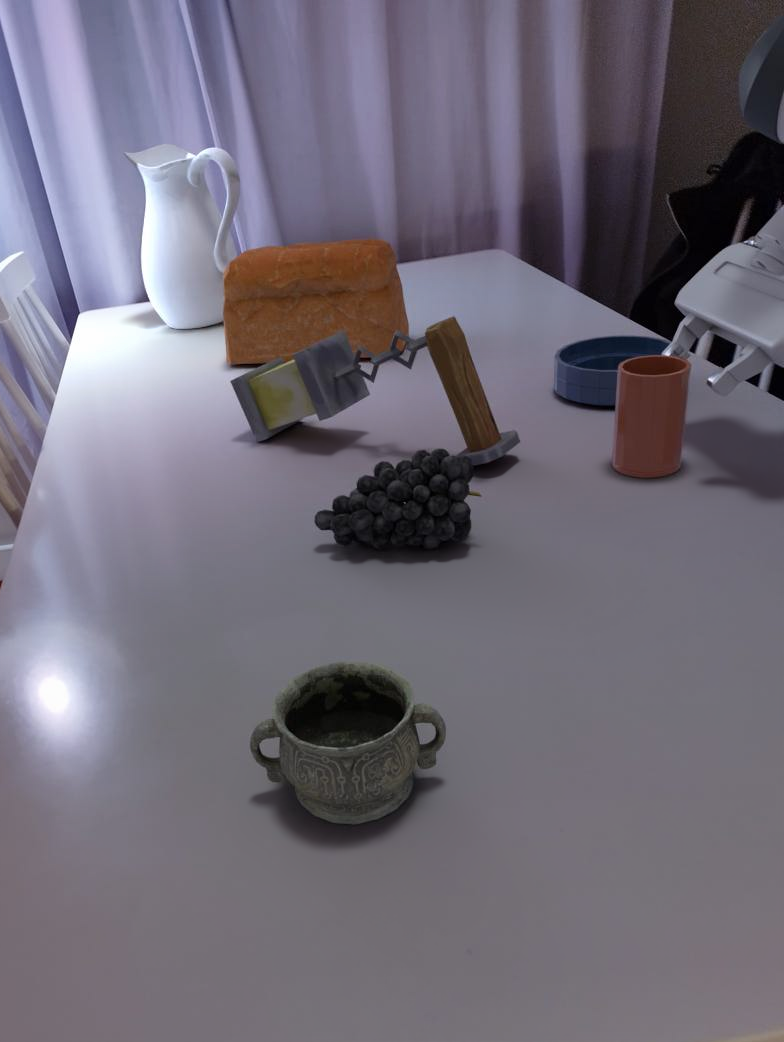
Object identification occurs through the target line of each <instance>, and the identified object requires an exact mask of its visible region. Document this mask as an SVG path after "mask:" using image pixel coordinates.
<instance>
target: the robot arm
mask: <svg viewBox="0 0 784 1042" xmlns="http://www.w3.org/2000/svg"><path fill="white" fill-rule="evenodd" d="M746 55H747V56H746V57H745V59H744V60H743V63H742V64H741V67H740V70H739V74H738V95H739V96H738V98H739V105H740V111H741V115H742V120H743V123H744V125H745V126H746V127H749V128H750V129H752V130H754V131H756V132H758V133H760V134H762V135H763V136H765V137H766V138H769V139H771V140H772V141H774V142H777V143H778V144H780V145H784V10H783V11H782V12H780V14H779V15H778V16H777V17H776V18H775V19H774V20H773V22H772V23H771V24H770V25H769V26H768V27H767V28H766V30H764V32H763V33H762V34H761V35H760V37H759V38H758V39H757V41H755V43H754V45H753V46H752V47H751V49H750V51H749V52H748V54H746ZM674 306H675V307H676V308H677V309H678V311H680V312H681V314H682V315H684V316H685V317H684V318H683V319H682V321H680V322H679V325H678V327H677V330H676V332H675V334H674V336H673V338H672V341H670V342H671V343H670V345H669V346H668V347H667V348H666V349H665V350H664V351H663V352H662V355H667V356H674V357H680V358H682V359H685V360H688V359H689V358H690V357H691V354H690V353H689V352H690V350H691V348H692V346H693V345H694V343H695V341H696V340H697V339H698V340H700V339H702V337H703V336H704V335H705V334H707V332H711V333H712V334H715V335H716V336H719V337H721V338H722V339H724V340H726V341H728V342H731V343H732V344H735V345H736V346H739V347H741V348H742V351H741V352H740V355H741V356H740V357H738V358H737V359H735V360H734V361H732V362H731V363H729V364H728V365H727V366H725V367H724V368H723V367H721V366H718V367H717V369H715V371H714V372H713V374H711V375H710V376H709V377H708V378H707V380H706V385H707V386H708V388H710V390H712V391H713V392H714V393H716V394H717V395H719V396H721V397H727V396H728V395H729V394H730V393H731V392H732V391H734V389H735V388H736V387H737V386H738V385H739V384H741V383H743V382H745V381H746V380H748V379H751V378H752V377H754V376H756V375H758V374H761V373H762V372H763V371H764V370H765V369H766V368H767V367H769V365H770V364H771V363H773V364H775V365H777V366H778V367H780V368H783V369H784V204H783V205H782V206H781V207H780V208H779V210H777V212H775V214H773V215H772V217H771V218H770V219H769V220H768V221H767V222H766V223H765V224H764V226H763V227H762V228H761V229H760V230H759V231H758V232H757V233H756V235H753V236H751V237H749V238H748V239H746V240H744V241H742V242H738V243H735V244H731V245H728V246H726V247H725V248H723V249H722V250H721V251H719V252H718V253H717V254H716V255H714V256H713V257H712V258H711V259H709V261H708V262H707V263H706V264H705V265H704V266H703V267H702V268H701V269H700V270H698V272H696V273H695V275H694V276H692V278H691V279H690V280H689V281H688V282H687V283H685V285H684V286H683V287H681V289H680V290H679V291H678V294H677V295H676V298H675V300H674Z"/></svg>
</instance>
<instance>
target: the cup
mask: <svg viewBox="0 0 784 1042" xmlns="http://www.w3.org/2000/svg"><path fill="white" fill-rule="evenodd" d="M691 372H692V363H691V362H690V361H689V360H688V359H687V360H685V359H682V358H680V357H674V356H667V355H650V356H640V357H635V358H631V359H627V360H625V361H623V362H621V363H620V364H619V366H618V373H617V389H616V406H614V407H615V408H614V425H613V441H612V444H613V445H612V458H611V459H612V468H613V469H614V470H615V471H616V472H617V473H619V474H622V475H624V476H627V477H632V478H641V479H643V478H644V479H654V478H660V477H666V476H669V475H672V474H674V473H676V472H678V471H679V469H680V468H681V465H682V459H683V449H684V441H685V432H686V421H687V411H688V401H689V390H690V384H691V383H690V382H691Z"/></svg>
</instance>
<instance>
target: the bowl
mask: <svg viewBox="0 0 784 1042" xmlns="http://www.w3.org/2000/svg"><path fill="white" fill-rule="evenodd" d="M671 342H672V341H669V340H667V339H665V338H659V337H655V336H647V335H635V334H634V335H633V334H632V335H631V334H630V335H629V334H628V335H627V334H625V335H623V334H622V335H621V334H620V335H607V336H606V335H605V336H596V337H590V338H586V339H580V340H577V341H574V342H571V343H569V344H565V345H564V346H562V347H561V348H559V349H558V350H556V353H555V355H554V361H553V363H554V366H553V389H554V390H555V393H556V394H557V395H559V396H560V397H562V398H564V399H565V400H569V401H572V402H576V403H581V404H583V405H584V404H585V405H590V406H598V407H615V406H616V389H617V373H618V366H619V364H620V363H621V362H623V361H625V360H627V359H631V358H635V357H640V356H650V355H662V352H663V351H664V350H665V349H666V348H667V347H668V346H669V345H670V343H671Z"/></svg>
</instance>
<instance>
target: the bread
mask: <svg viewBox="0 0 784 1042" xmlns="http://www.w3.org/2000/svg"><path fill="white" fill-rule="evenodd" d="M237 256H238V257H237V258H235V259H234V260H233V261H231V262H230V263H229V265H228V266H227V268H226V270H225V271H224V273H223V281H224V283H223V296H224V297H225V299H224V307H223V329H224V339H225V355H226V356H225V357H226V363H227V364H229V366H230V365H231V366H233V365H234V366H235V365H245V364H246V365H247V364H266V363H268V362H271V361H273V360H275V359H278V358H280V357H281V358H282V360H283V363H286V362H289V361H291V360H294V358H293V356H292V355H293V354H295V353H297V352H299V351H301V350H303V349H305V348H307V347H309V346H312V345H314V344H316V343H318V342H320V341H322V340H324V339H326V338H328V337H330V336H332V335H334V334H337V333H339V332H342V331H344V330H345V332H346V334H347V337H348V339H349V342H350V344H351V347H352V350H353V352H354V355H356V351H357V348H358V344H359V345H361V346H362V347H364V348H366V349H367V350H369V351H371V352H372V353H374V354H376V355H378V354H380V353H382V352H384V351H387V350H389V349H390V346H391V343H392V339H393V336H394V333H395V330H398V331H399V332H401V333H403V334H404V335H406V336H408V337H410V328H409V327H410V326H409V325H410V324H409V319H408V315H407V309H406V304H405V297H404V290H403V288H404V287H403V284H402V280H401V277H400V274H399V271H398V266H397V265H398V264H397V256H396V254H395V252H394V250H393V248H392V246H391V244H390V242H388V241H385V240H382V239H379V238H361V239H346V240H341V241H331V242H330V241H329V242H300V243H296V244H291V245H272V246H271V245H267V246H262V247H257V248H252V249H247V250H244V251H243V252H241V253H240V254H239V255H237ZM406 345H407V342H405V341H404V340H402V339H400V338H398V341H397V345H396V348H398V349H399V350H401V352H402V351H403V350H404V349H405V347H406ZM360 359H371V357H369V356H367V355H366V354H364V353H362V352H361V356H360Z"/></svg>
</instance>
